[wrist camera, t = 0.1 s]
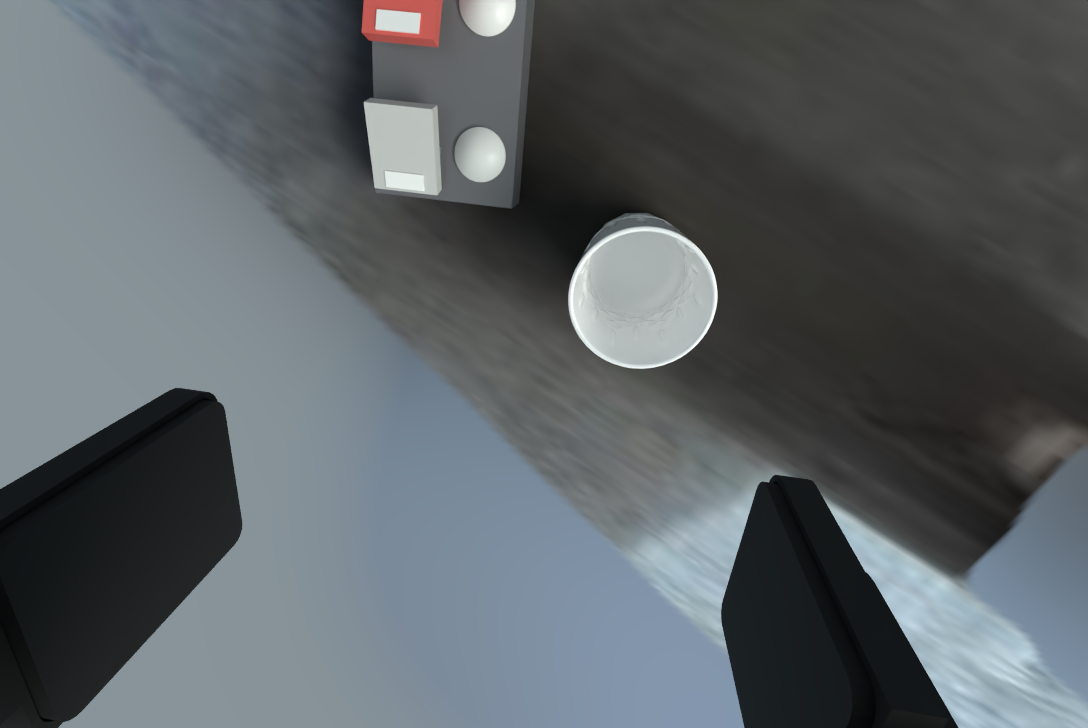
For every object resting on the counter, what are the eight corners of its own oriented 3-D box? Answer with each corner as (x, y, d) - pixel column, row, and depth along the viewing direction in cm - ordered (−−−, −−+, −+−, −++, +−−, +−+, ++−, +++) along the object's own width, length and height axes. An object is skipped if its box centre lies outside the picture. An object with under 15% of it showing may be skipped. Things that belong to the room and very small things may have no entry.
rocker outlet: (370, 97, 32) (362, 102, 31) (437, 105, 32) (431, 109, 31) (380, 182, 35) (374, 188, 34) (441, 189, 35) (436, 196, 34)
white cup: (561, 286, 40) (545, 333, 31) (609, 182, 37) (607, 200, 28) (658, 331, 40) (671, 390, 31) (714, 233, 37) (746, 266, 28)
